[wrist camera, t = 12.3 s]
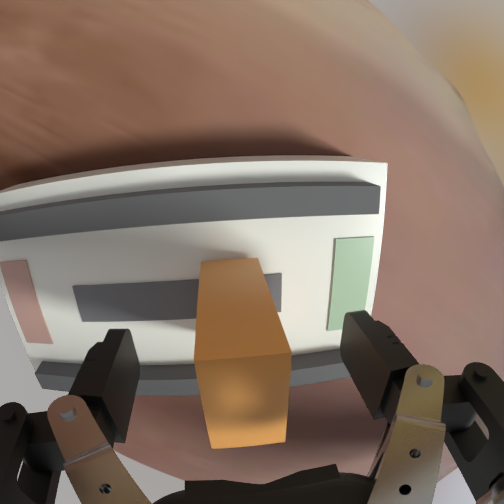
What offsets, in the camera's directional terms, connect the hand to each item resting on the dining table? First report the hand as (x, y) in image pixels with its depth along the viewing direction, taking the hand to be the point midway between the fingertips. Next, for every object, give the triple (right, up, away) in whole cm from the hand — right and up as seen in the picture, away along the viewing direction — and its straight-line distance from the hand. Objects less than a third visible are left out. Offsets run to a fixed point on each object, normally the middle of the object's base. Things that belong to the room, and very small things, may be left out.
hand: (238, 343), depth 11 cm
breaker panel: (-4, +2, +7) cm, 8 cm away
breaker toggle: (0, +1, +3) cm, 3 cm away
